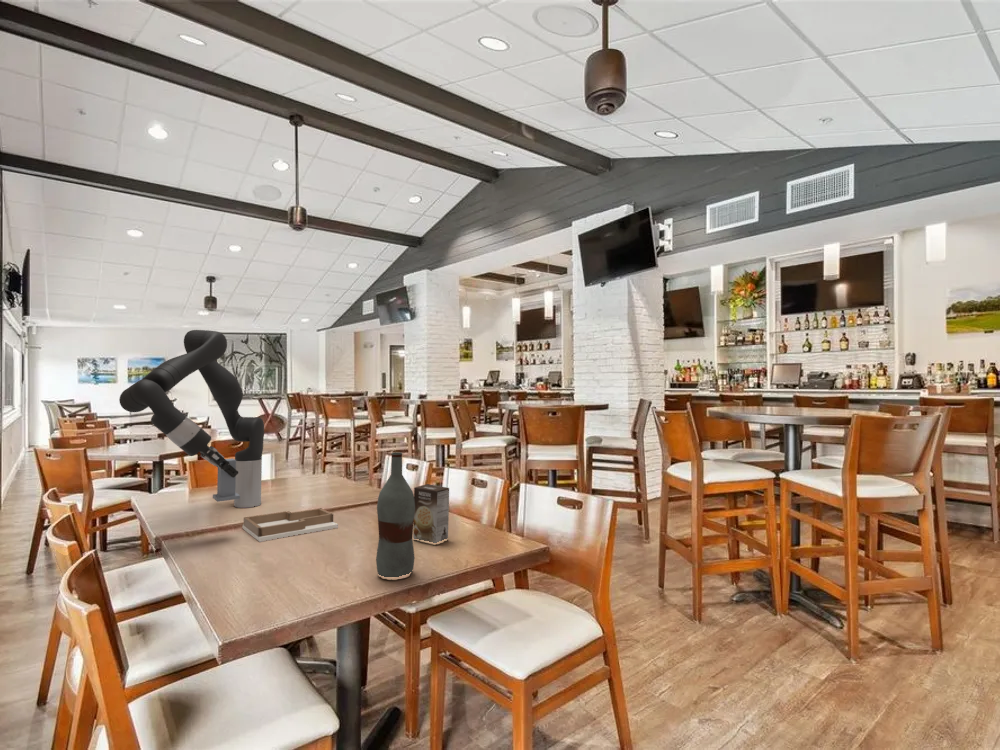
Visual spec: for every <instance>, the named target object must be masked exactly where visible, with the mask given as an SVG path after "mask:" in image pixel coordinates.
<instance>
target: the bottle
mask: <svg viewBox="0 0 1000 750" xmlns="http://www.w3.org/2000/svg"><path fill="white" fill-rule="evenodd" d="M390 464H391V466H390V467H391V468H390V476H389V477H388V479H387V480H386V482H385V483H384V485H383V486H382V488H381V490H380V491H379V494H378V497H377V504H376V513H377V524H378V527H377V528H378V543H377V548H376V557H375V558H376V559H375V562H376V571H377V575H378V574H379V575H381V576H384V577H399V576H402V575H406V574H409V573H410V572H412V573H413V571H412V570H414V565H415V559H416V558H415V557H416V556H415V549H414V542H413V541H414V540H413V528H414V513H415V501H414V490H413V489H412V488H411V487H410V485H409V483H408V482H407V480H406V478H405V477H404V475H403V452H401V451H398V452H397V451H395V452H391V463H390Z"/></svg>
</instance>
